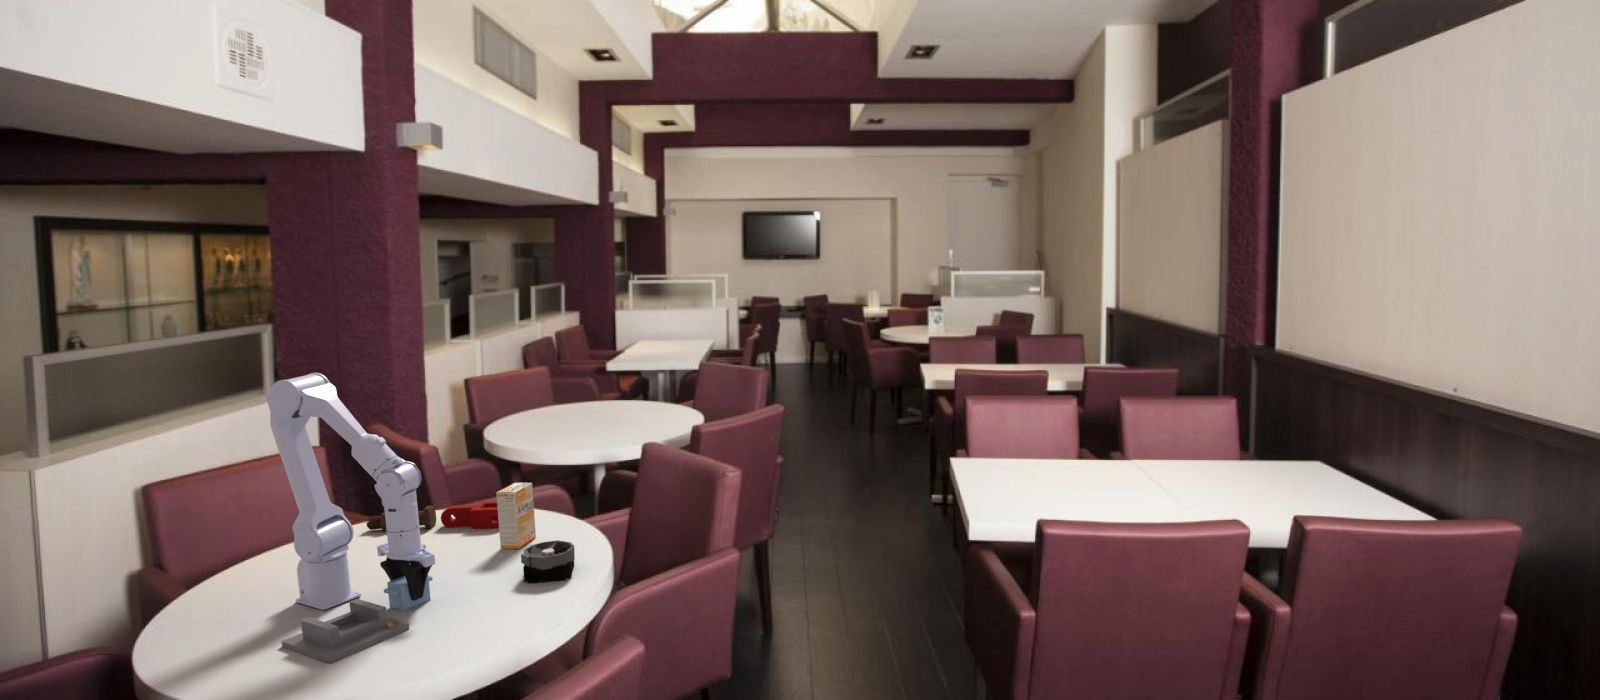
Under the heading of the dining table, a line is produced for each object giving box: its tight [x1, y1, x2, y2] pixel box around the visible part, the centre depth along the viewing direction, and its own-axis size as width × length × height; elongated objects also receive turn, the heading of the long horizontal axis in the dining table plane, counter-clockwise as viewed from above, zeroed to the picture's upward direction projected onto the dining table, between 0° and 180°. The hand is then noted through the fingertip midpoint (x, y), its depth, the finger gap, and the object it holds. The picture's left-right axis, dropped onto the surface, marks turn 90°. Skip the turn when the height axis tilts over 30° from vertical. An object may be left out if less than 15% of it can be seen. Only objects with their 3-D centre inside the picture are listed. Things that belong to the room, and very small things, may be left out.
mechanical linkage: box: [440, 500, 499, 531], centre depth 225 cm, size 16×7×5 cm, turn 91°
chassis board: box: [280, 598, 410, 664], centre depth 163 cm, size 14×15×4 cm
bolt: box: [366, 505, 437, 533], centre depth 224 cm, size 6×5×15 cm
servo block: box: [383, 574, 434, 612], centre depth 178 cm, size 4×8×6 cm, turn 149°
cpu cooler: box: [520, 540, 576, 584], centre depth 191 cm, size 10×6×10 cm
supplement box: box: [495, 482, 537, 550], centre depth 210 cm, size 8×5×13 cm, turn 168°
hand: (409, 596), depth 178 cm, fingers closed on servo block, 4 cm apart
